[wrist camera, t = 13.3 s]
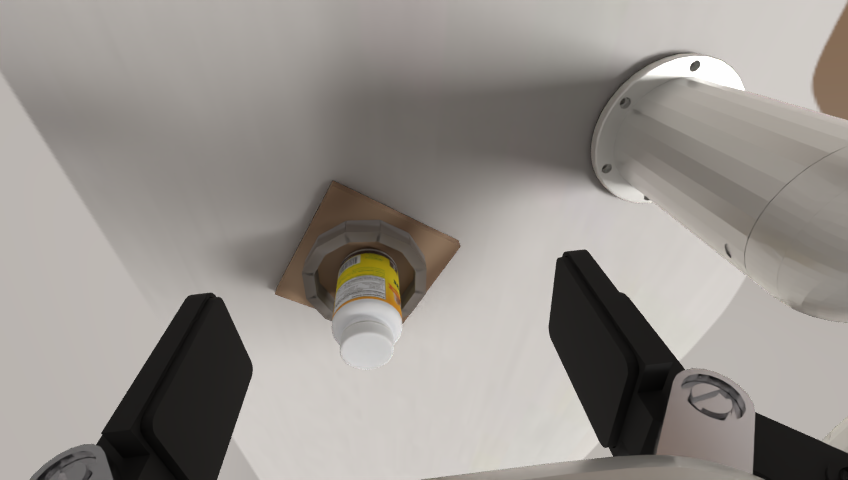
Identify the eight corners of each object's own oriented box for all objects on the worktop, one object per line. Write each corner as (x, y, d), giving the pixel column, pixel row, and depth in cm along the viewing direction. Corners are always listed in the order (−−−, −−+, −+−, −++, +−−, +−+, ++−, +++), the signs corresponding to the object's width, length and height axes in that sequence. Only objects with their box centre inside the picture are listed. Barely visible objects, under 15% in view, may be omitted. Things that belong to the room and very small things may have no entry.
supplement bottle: (392, 295, 40) (396, 380, 32) (336, 289, 39) (324, 375, 31) (403, 249, 37) (411, 328, 29) (342, 241, 36) (332, 321, 28)
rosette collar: (458, 240, 39) (464, 258, 36) (393, 329, 44) (393, 350, 42) (332, 180, 34) (329, 196, 32) (276, 287, 40) (269, 308, 37)
